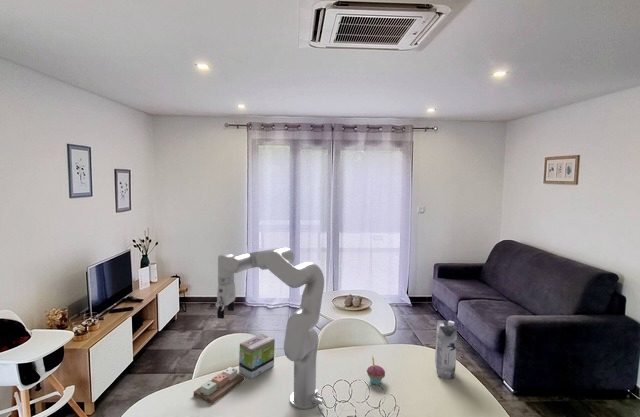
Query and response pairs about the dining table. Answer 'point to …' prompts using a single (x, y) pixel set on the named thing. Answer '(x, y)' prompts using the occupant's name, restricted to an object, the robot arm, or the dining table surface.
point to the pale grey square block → (208, 388)
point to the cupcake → (375, 373)
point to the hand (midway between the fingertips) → (225, 314)
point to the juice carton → (446, 349)
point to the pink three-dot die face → (220, 380)
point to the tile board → (219, 390)
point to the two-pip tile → (230, 373)
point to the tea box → (256, 355)
